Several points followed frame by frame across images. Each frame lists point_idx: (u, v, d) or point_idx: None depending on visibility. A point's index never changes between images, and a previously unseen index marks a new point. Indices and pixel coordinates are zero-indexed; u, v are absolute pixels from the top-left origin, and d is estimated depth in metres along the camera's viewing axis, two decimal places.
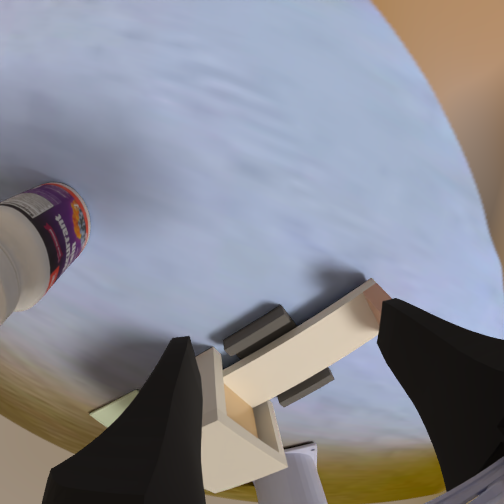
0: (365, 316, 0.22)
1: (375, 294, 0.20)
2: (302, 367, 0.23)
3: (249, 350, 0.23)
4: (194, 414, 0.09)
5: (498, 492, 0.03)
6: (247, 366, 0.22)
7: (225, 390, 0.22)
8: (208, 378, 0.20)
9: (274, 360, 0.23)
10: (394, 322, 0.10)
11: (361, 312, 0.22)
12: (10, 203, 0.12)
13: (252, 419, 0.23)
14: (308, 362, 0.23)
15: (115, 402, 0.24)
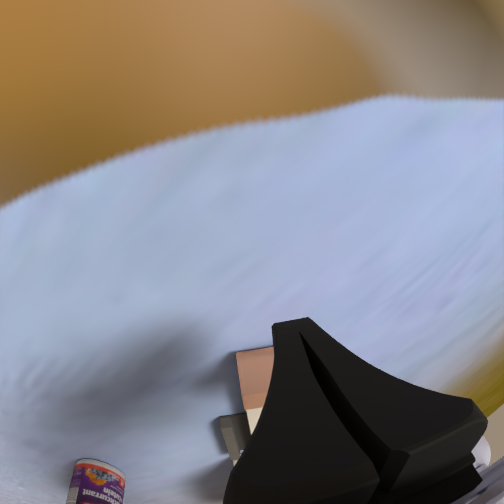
0: None
1: None
2: None
3: None
4: None
5: (498, 492, 0.03)
6: None
7: None
8: None
9: None
10: None
11: None
12: None
13: None
14: None
15: None
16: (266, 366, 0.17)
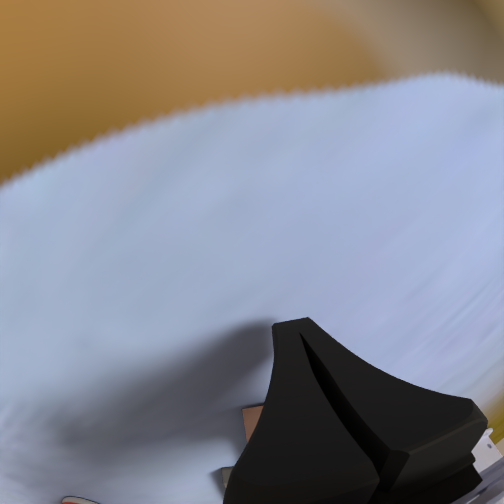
0: None
1: None
2: None
3: None
4: None
5: (498, 492, 0.03)
6: None
7: None
8: None
9: None
10: None
11: None
12: None
13: None
14: None
15: None
16: None
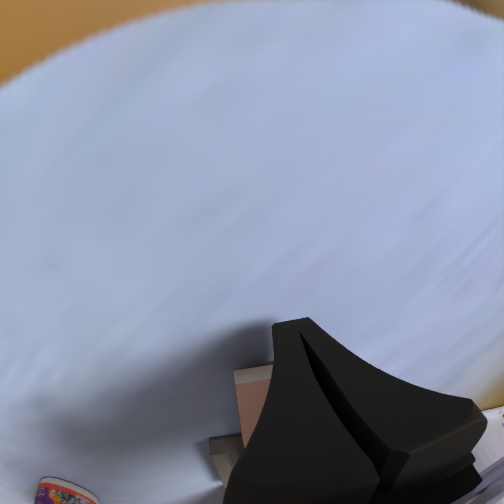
0: None
1: None
2: None
3: None
4: None
5: (498, 492, 0.03)
6: None
7: None
8: None
9: None
10: None
11: None
12: None
13: None
14: None
15: None
16: None
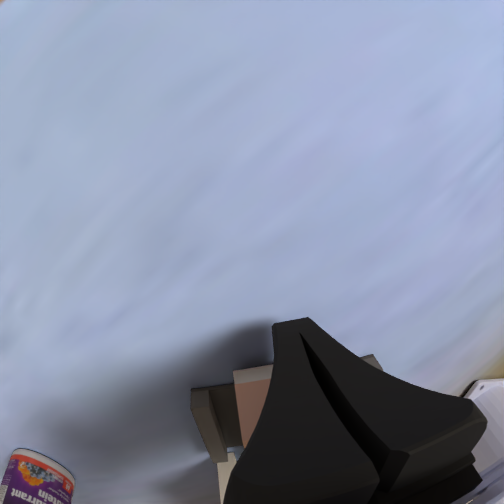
0: None
1: None
2: None
3: None
4: None
5: (498, 492, 0.03)
6: None
7: None
8: None
9: None
10: None
11: None
12: None
13: None
14: None
15: None
16: None
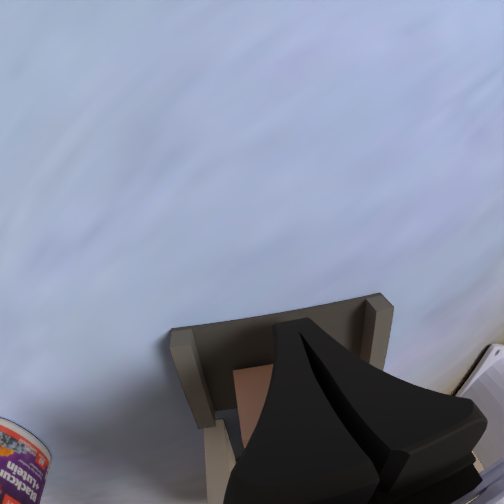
0: None
1: None
2: None
3: (234, 394, 0.13)
4: None
5: (498, 492, 0.03)
6: None
7: None
8: None
9: None
10: None
11: None
12: None
13: None
14: None
15: None
16: None
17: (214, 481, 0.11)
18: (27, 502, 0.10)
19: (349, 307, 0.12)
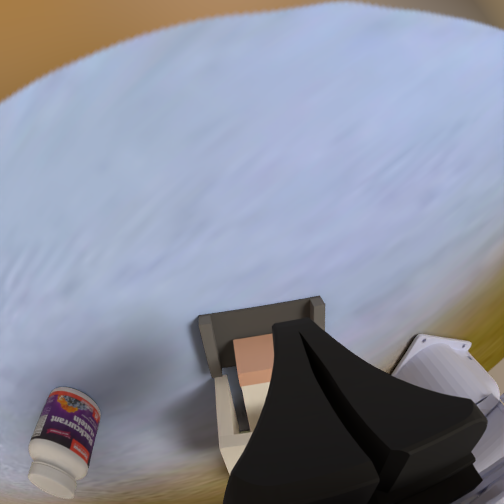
0: None
1: None
2: None
3: (233, 356, 0.23)
4: None
5: (498, 492, 0.03)
6: None
7: None
8: None
9: None
10: None
11: None
12: None
13: None
14: None
15: None
16: (258, 350, 0.21)
17: (221, 409, 0.20)
18: (87, 445, 0.19)
19: (299, 304, 0.22)
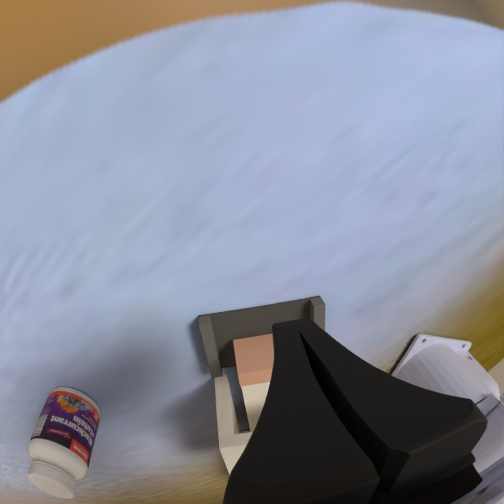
0: None
1: None
2: None
3: (233, 356, 0.23)
4: None
5: (498, 492, 0.03)
6: None
7: None
8: None
9: None
10: None
11: None
12: (31, 437, 0.17)
13: None
14: None
15: None
16: (258, 350, 0.21)
17: (221, 409, 0.20)
18: (86, 445, 0.19)
19: (299, 304, 0.22)
